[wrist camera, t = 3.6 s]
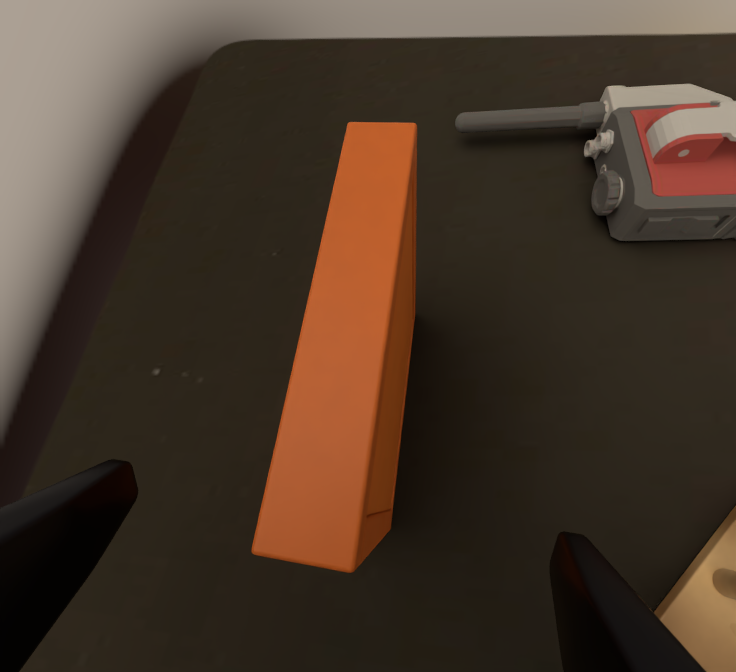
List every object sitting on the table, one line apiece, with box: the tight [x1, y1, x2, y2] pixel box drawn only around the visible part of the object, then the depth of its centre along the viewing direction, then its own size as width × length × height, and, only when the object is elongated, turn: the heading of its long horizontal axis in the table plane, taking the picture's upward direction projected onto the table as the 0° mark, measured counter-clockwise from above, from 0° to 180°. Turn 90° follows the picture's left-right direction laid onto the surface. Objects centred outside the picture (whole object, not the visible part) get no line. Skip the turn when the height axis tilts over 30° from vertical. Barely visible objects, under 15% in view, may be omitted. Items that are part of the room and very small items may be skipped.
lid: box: [252, 122, 417, 573], centre depth 13 cm, size 10×2×11 cm, turn 172°
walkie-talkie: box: [455, 84, 736, 241], centre depth 20 cm, size 9×4×20 cm
